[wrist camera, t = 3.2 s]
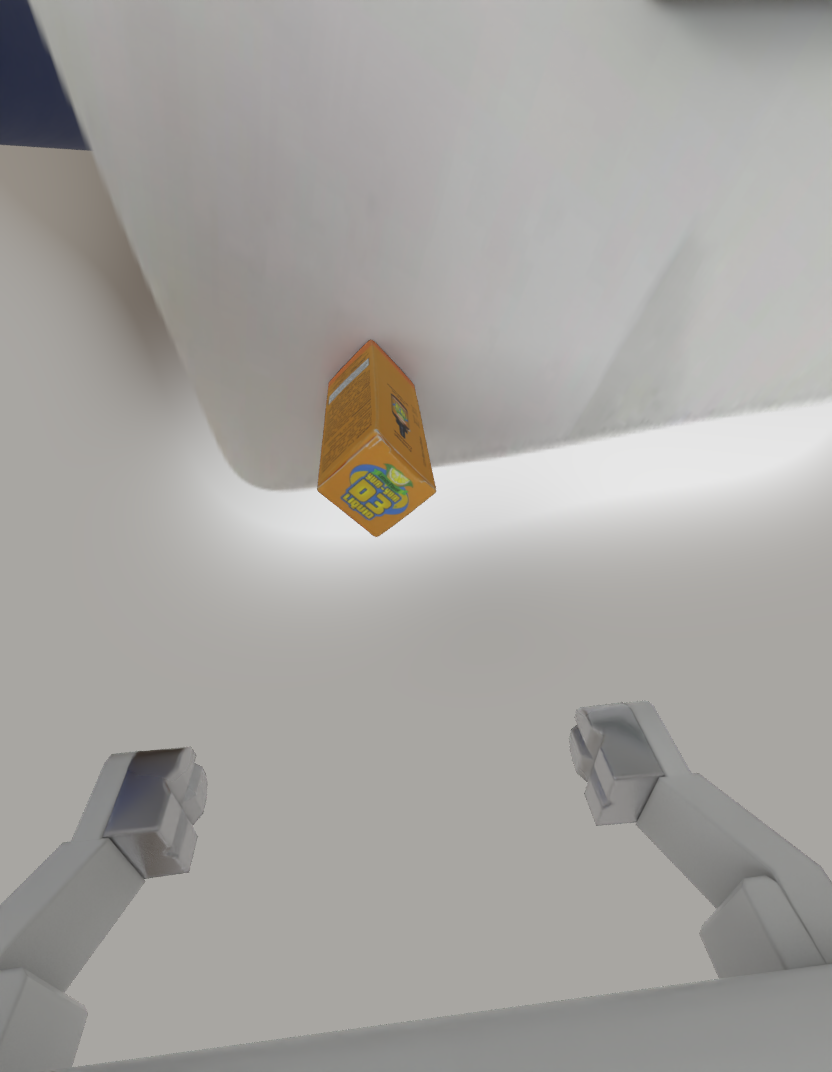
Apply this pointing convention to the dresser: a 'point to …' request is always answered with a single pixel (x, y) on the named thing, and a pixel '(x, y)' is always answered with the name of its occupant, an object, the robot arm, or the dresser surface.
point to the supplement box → (374, 443)
